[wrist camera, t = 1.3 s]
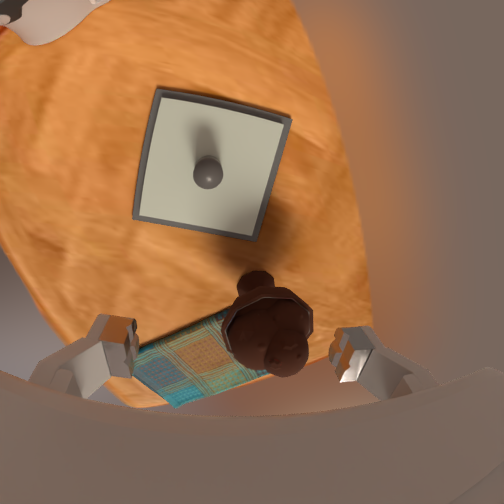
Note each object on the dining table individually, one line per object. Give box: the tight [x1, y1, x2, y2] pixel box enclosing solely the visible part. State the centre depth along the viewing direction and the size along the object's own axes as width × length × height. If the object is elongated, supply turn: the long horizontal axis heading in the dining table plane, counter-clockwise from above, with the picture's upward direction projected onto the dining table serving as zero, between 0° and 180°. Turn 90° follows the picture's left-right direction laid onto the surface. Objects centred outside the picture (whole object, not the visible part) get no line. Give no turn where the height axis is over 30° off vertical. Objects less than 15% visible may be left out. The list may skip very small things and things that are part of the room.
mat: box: [132, 89, 292, 242], centre depth 31 cm, size 16×16×1 cm
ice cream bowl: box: [221, 271, 313, 377], centre depth 33 cm, size 11×11×15 cm
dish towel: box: [132, 308, 270, 408], centre depth 45 cm, size 17×23×3 cm
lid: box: [139, 98, 284, 236], centre depth 29 cm, size 14×14×5 cm
